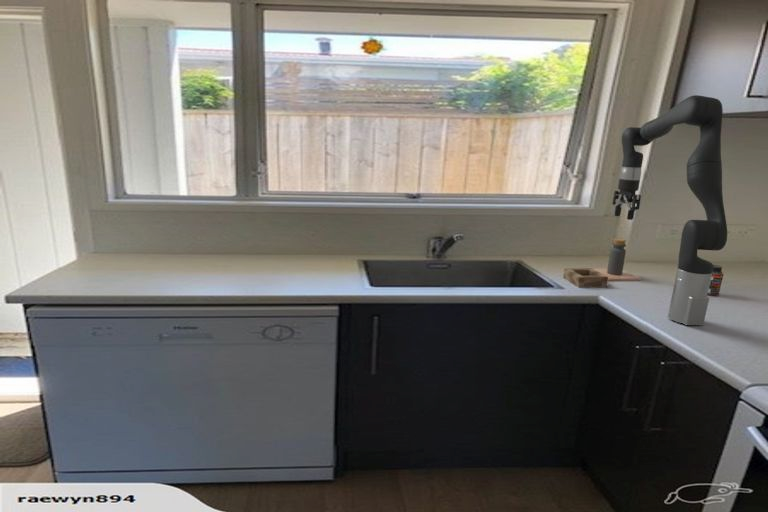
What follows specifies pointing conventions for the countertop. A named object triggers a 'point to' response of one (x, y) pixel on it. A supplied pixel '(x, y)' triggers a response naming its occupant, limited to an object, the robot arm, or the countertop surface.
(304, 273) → the countertop surface
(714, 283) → the supplement bottle
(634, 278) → the tile
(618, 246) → the bottle
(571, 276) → the pocket holder
